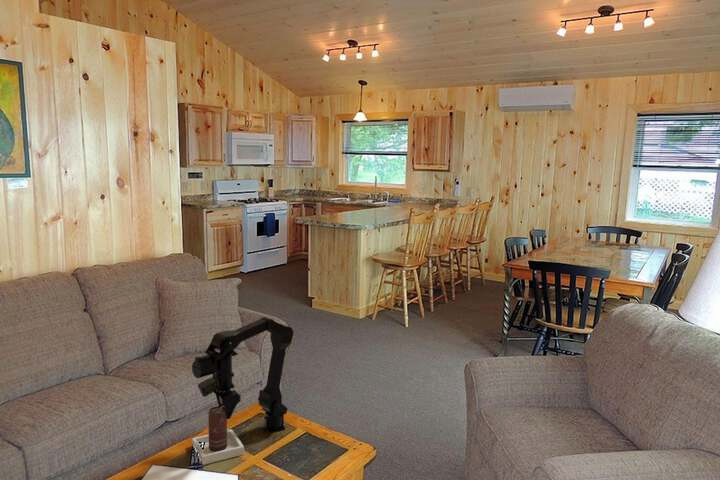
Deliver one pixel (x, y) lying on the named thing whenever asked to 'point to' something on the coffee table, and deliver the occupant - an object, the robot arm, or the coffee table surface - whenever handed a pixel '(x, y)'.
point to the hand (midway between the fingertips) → (224, 413)
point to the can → (217, 429)
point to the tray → (231, 450)
